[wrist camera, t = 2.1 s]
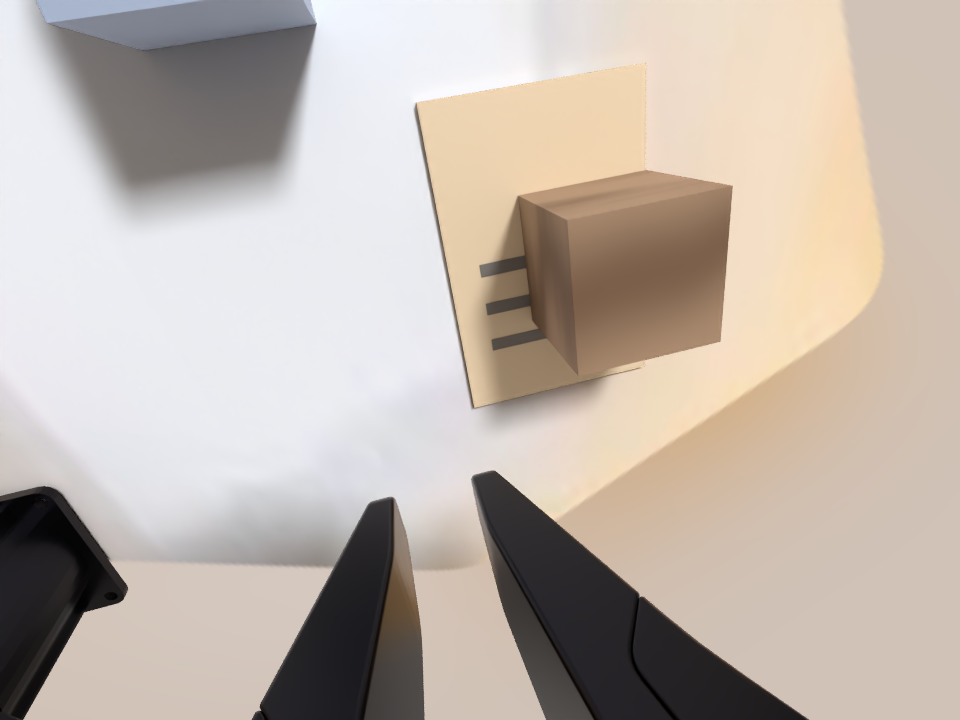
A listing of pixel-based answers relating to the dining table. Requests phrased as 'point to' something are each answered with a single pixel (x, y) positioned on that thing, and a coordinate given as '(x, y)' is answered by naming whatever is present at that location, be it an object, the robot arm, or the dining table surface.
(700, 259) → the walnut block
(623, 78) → the letter
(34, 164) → the dining table surface
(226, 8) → the cube
